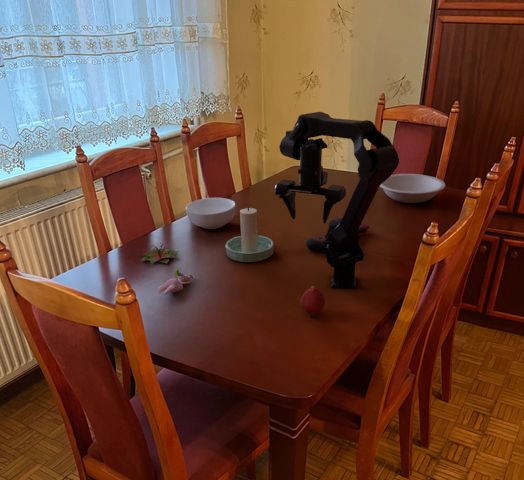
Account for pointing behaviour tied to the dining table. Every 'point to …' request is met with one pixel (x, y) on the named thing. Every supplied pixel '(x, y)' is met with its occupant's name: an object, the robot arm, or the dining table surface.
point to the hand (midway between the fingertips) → (309, 220)
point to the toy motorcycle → (318, 242)
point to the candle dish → (236, 253)
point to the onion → (312, 301)
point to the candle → (249, 230)
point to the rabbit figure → (175, 283)
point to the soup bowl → (412, 187)
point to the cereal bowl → (211, 212)
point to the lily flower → (159, 255)
